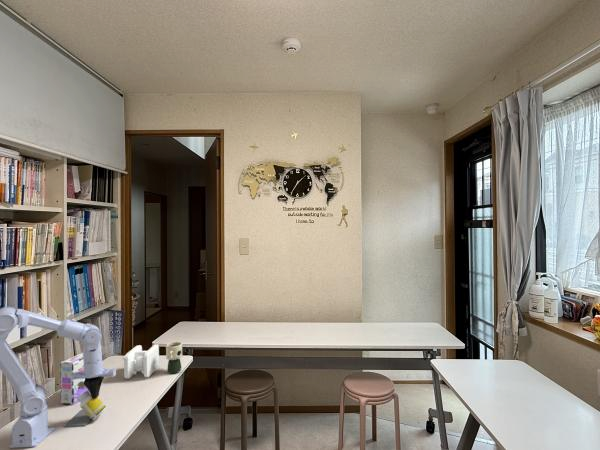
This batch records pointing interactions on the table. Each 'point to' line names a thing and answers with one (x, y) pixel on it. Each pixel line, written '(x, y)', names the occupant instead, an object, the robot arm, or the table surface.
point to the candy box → (69, 386)
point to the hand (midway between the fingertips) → (95, 397)
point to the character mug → (174, 356)
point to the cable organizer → (141, 361)
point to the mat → (79, 420)
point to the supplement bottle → (91, 405)
